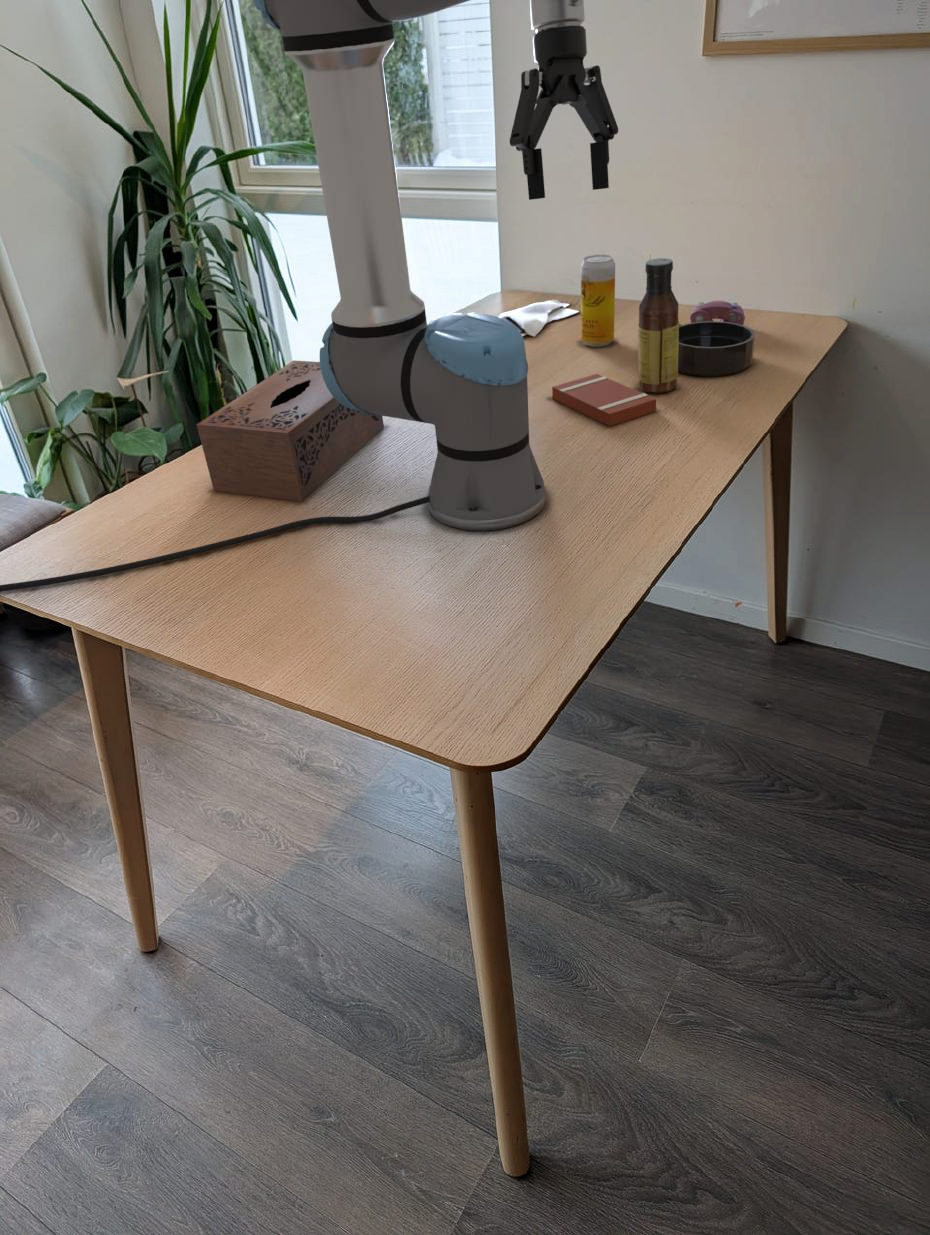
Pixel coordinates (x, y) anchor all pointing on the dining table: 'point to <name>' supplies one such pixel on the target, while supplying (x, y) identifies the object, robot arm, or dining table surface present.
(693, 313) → the video game controller
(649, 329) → the sauce bottle
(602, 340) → the beer can
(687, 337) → the pan
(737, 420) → the dining table surface
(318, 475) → the tissue box cover
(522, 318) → the cloth
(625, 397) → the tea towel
